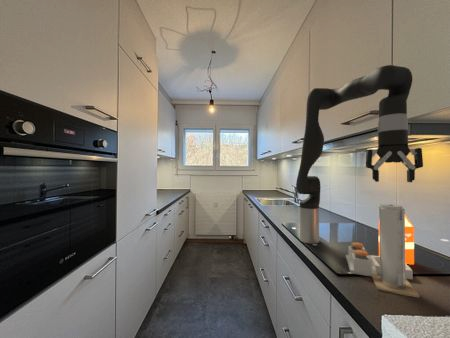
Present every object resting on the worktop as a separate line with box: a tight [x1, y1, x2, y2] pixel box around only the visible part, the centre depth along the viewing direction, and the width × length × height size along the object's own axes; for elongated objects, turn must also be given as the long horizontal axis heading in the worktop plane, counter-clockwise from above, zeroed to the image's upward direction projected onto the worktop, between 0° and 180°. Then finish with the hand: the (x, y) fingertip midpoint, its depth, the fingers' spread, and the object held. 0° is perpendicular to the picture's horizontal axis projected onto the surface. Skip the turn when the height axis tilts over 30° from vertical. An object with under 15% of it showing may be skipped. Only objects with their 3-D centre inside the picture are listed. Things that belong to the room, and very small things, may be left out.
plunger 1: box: [350, 241, 364, 250], centre depth 88 cm, size 4×4×5 cm
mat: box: [370, 274, 420, 298], centre depth 70 cm, size 10×10×1 cm
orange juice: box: [377, 214, 415, 265], centre depth 89 cm, size 8×9×20 cm
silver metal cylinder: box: [378, 203, 406, 289], centre depth 70 cm, size 6×6×25 cm
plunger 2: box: [354, 250, 369, 260], centre depth 80 cm, size 4×4×5 cm
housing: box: [345, 245, 414, 281], centre depth 82 cm, size 15×18×5 cm
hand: (392, 181), depth 70 cm, fingers open, 8 cm apart
